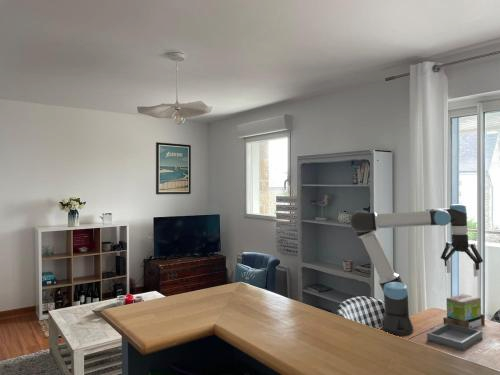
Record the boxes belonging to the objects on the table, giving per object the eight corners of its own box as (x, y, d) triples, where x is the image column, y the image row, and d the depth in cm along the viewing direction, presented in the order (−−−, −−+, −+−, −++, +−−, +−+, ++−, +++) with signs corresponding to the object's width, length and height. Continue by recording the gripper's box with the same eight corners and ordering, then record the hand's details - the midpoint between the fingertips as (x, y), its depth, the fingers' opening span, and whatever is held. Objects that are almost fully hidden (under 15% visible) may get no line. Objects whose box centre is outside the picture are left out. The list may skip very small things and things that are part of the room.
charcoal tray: (427, 340, 179) (426, 333, 179) (448, 329, 192) (447, 322, 192) (462, 350, 167) (462, 342, 167) (482, 338, 179) (482, 331, 180)
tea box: (465, 331, 189) (464, 302, 189) (446, 326, 197) (445, 297, 198) (482, 325, 196) (480, 297, 197) (463, 320, 205) (461, 293, 205)
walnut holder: (443, 327, 196) (443, 317, 196) (460, 318, 207) (460, 309, 208) (468, 333, 186) (467, 323, 186) (484, 324, 198) (484, 314, 198)
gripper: (488, 234, 190) (491, 276, 189) (439, 231, 210) (441, 270, 209) (482, 235, 185) (485, 279, 185) (432, 233, 205) (434, 272, 205)
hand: (461, 274), depth 197 cm, fingers open, 13 cm apart
